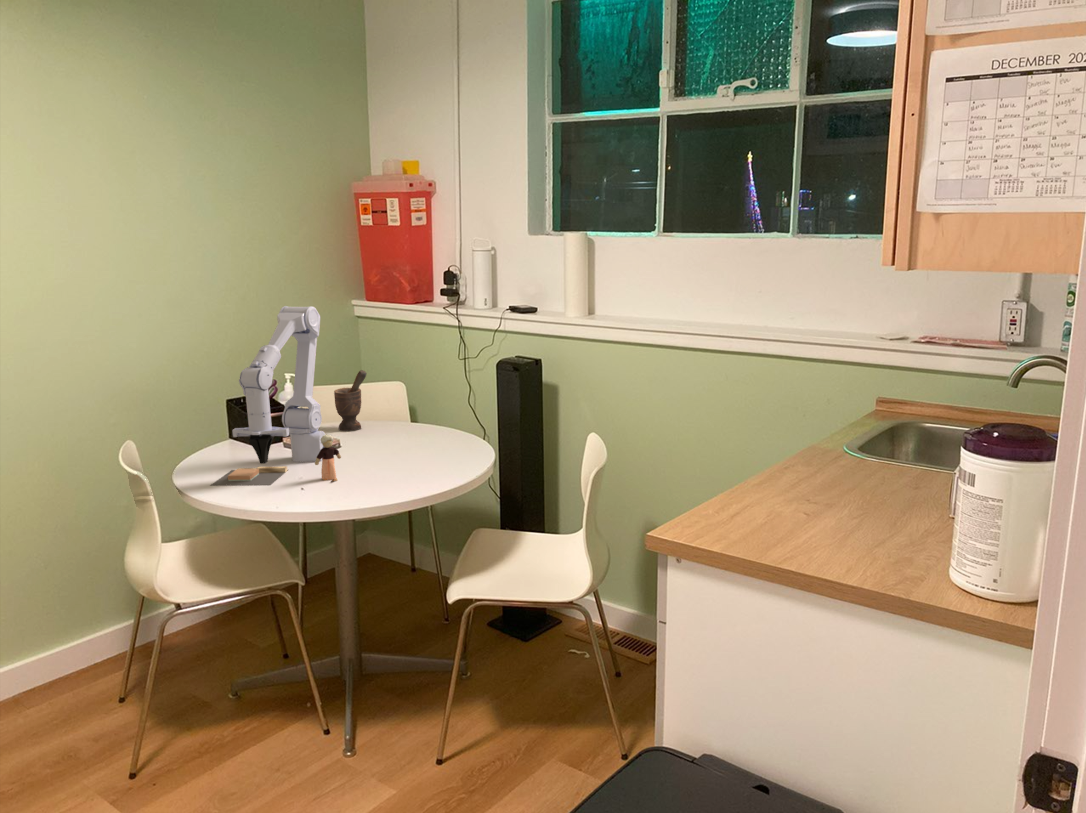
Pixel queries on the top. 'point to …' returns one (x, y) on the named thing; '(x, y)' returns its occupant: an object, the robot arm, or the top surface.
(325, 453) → the grandmother figurine
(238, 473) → the tile
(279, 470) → the light wooden plank
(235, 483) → the mat
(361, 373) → the mortar and pestle
